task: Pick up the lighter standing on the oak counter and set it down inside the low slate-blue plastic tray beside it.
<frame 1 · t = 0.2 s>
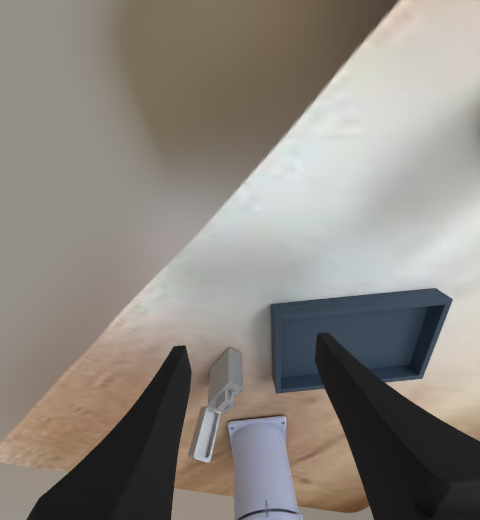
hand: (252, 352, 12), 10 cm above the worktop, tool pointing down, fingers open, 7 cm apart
lighter: (218, 367, 27), on the worktop
tray: (347, 337, 26), on the worktop
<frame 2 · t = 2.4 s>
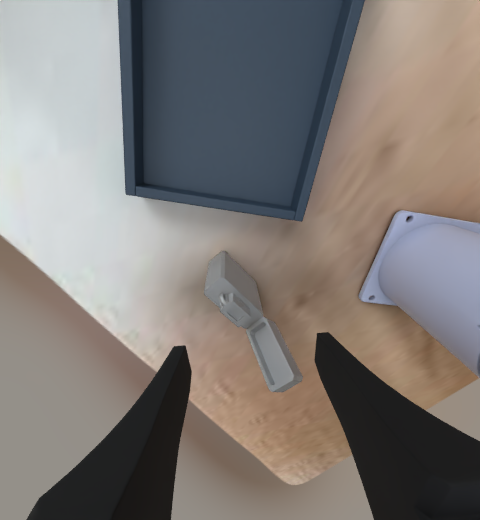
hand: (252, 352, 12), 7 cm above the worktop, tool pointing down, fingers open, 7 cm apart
lighter: (244, 283, 19), on the worktop
tray: (238, 48, 13), on the worktop
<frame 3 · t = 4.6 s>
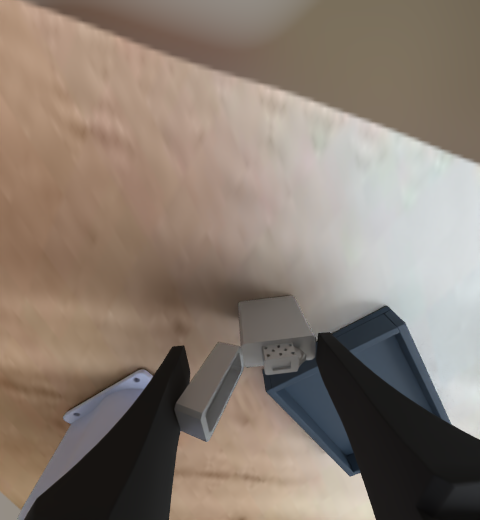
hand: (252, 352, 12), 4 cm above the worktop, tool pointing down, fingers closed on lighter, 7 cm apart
lighter: (246, 309, 17), on the worktop, touching gripper
tray: (359, 394, 22), on the worktop
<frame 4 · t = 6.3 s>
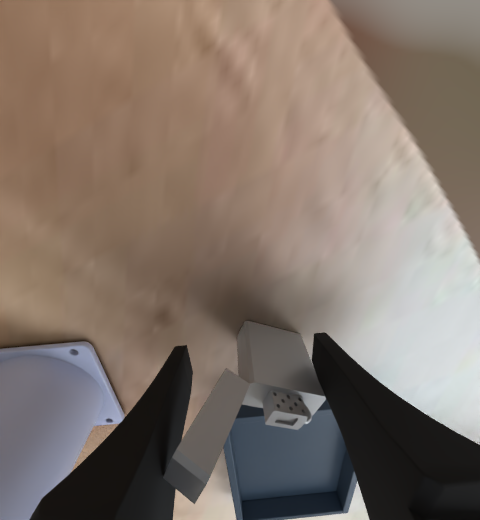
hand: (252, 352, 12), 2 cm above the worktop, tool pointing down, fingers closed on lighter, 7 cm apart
lighter: (248, 329, 15), on the worktop, touching gripper
tray: (289, 448, 21), on the worktop
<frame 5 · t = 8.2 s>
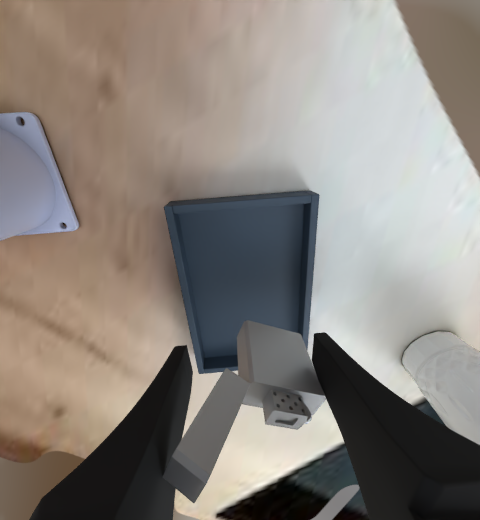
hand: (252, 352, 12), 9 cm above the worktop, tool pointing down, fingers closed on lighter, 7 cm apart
lighter: (248, 329, 15), point 7 cm above the worktop, touching gripper
white cup: (428, 351, 27), on the worktop
tray: (246, 288, 22), on the worktop
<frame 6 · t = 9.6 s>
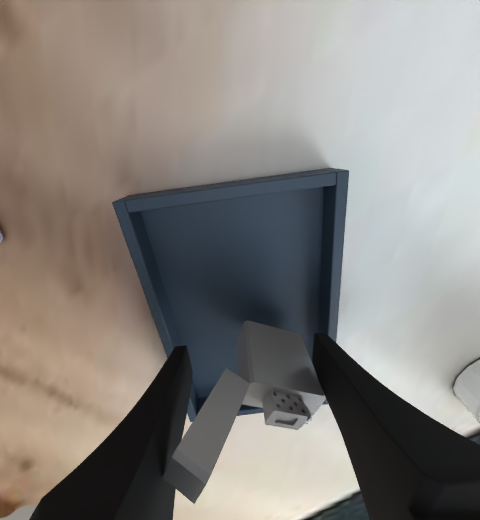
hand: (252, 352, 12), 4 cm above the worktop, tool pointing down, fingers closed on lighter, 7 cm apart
lighter: (248, 329, 15), point 1 cm above the worktop, touching gripper
tray: (246, 309, 16), on the worktop
when the fingers open (3 cm above the worktop, at t = 10.6 s): lighter stays where it is, resting on tray.
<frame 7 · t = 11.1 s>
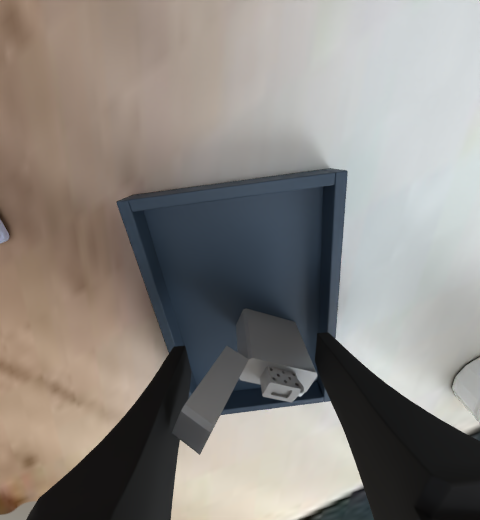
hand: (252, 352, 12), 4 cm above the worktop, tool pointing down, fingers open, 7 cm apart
lighter: (246, 317, 16), resting on tray, touching gripper
tray: (247, 307, 16), on the worktop
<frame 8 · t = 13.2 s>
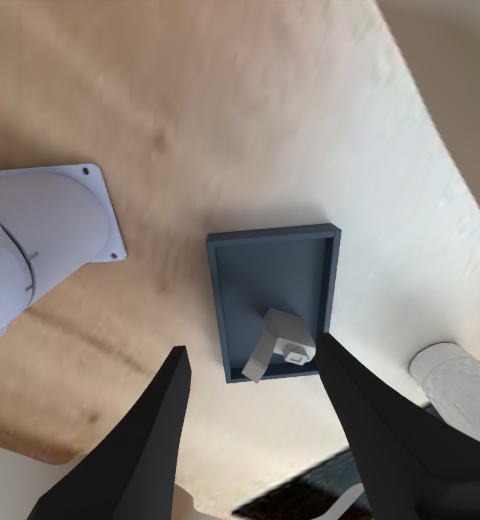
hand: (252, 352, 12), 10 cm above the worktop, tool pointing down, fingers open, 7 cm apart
lighter: (270, 313, 24), resting on tray
white cup: (433, 360, 29), on the worktop
tray: (271, 306, 24), on the worktop
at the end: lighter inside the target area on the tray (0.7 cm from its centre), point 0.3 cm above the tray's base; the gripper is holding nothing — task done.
